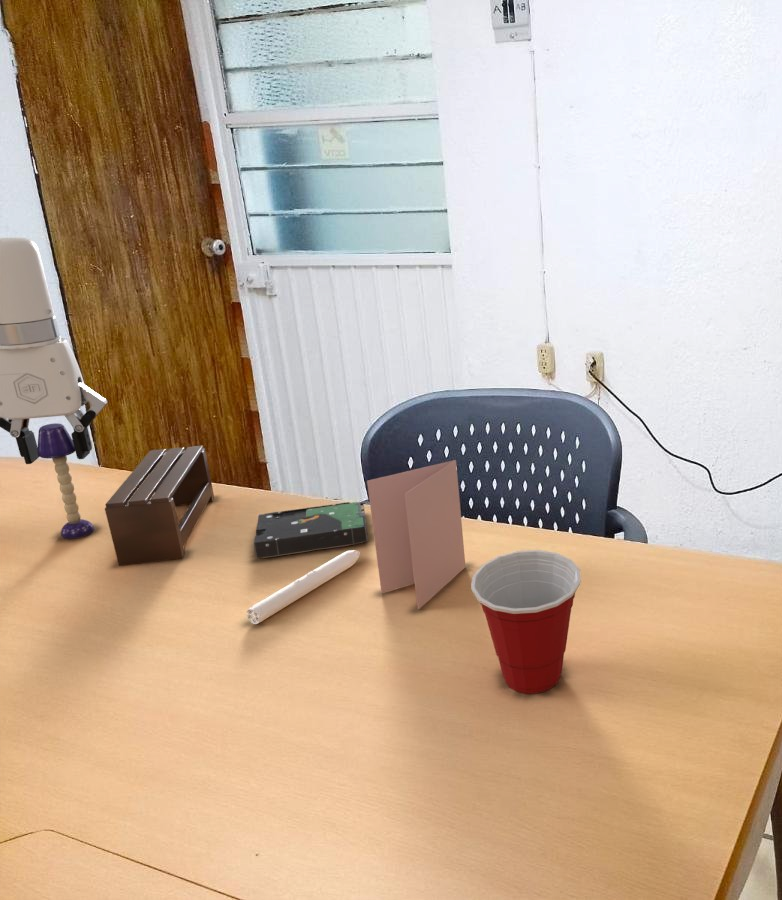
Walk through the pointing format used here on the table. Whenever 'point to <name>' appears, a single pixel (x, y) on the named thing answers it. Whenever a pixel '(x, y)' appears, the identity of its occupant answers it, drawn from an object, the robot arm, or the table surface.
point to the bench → (159, 505)
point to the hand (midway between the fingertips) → (58, 457)
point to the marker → (301, 587)
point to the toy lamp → (63, 476)
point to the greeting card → (418, 529)
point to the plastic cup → (528, 614)
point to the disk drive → (310, 529)
